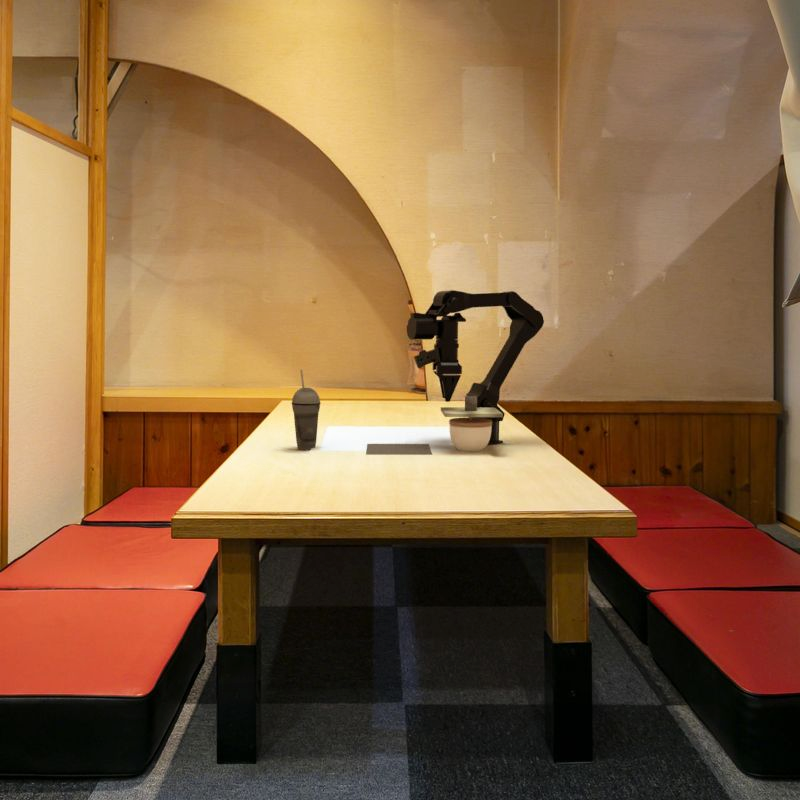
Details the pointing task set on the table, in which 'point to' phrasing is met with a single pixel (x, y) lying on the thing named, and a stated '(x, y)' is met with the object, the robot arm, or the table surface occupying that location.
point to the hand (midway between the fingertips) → (446, 399)
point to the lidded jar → (470, 433)
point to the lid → (470, 410)
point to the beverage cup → (306, 416)
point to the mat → (398, 449)
